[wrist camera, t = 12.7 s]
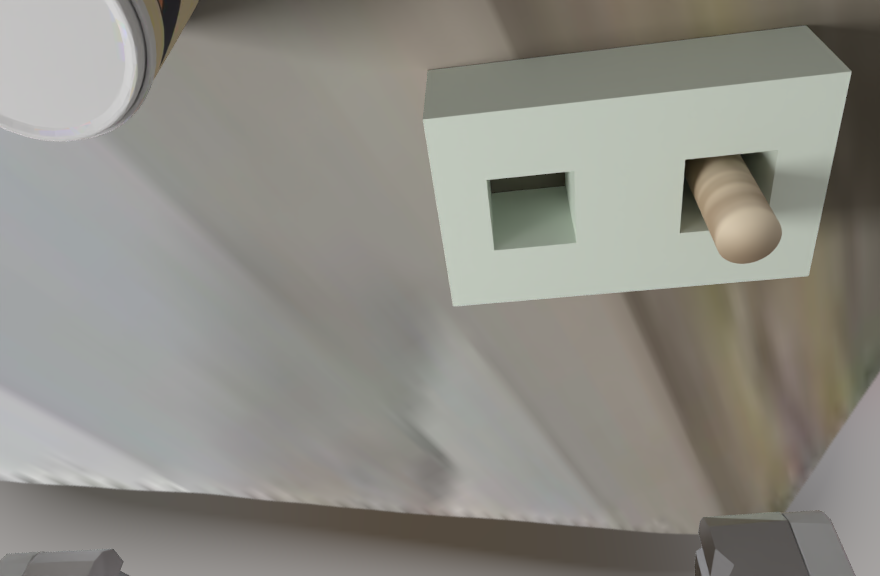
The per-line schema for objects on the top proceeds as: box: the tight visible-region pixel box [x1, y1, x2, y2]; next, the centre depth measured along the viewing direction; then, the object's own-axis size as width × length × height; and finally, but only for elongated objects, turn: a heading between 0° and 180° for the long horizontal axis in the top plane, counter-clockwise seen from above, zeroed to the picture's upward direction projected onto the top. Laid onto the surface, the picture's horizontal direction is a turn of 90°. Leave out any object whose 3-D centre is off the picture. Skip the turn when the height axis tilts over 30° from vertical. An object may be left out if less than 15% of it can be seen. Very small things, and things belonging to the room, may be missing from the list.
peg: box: [684, 154, 782, 264], centre depth 40 cm, size 3×3×10 cm
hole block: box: [423, 25, 852, 306], centre depth 42 cm, size 12×20×6 cm, turn 98°
